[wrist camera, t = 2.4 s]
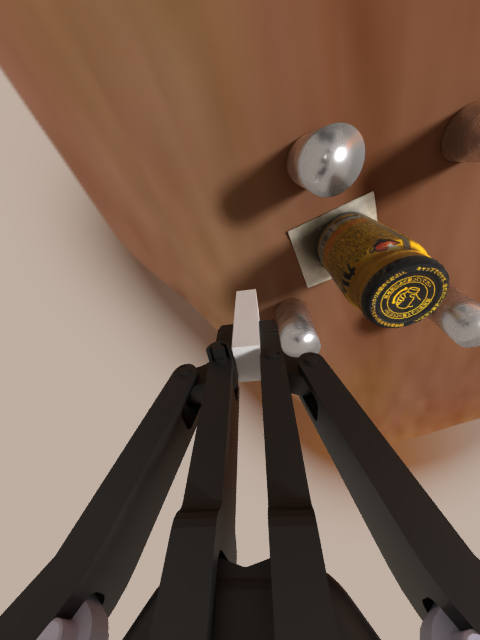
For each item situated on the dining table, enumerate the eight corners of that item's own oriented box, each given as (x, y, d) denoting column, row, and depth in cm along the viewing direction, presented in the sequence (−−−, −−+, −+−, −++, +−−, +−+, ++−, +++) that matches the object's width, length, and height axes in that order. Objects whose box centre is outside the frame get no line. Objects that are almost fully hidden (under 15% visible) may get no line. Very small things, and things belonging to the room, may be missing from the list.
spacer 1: (274, 300, 29) (280, 335, 23) (307, 296, 29) (321, 331, 23) (276, 325, 31) (282, 363, 26) (306, 322, 31) (319, 360, 25)
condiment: (382, 257, 26) (464, 320, 16) (307, 287, 28) (339, 357, 18) (372, 190, 22) (471, 218, 12) (287, 230, 24) (313, 281, 15)
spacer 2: (285, 137, 20) (301, 129, 14) (334, 128, 20) (369, 116, 14) (287, 189, 22) (301, 201, 16) (330, 182, 22) (360, 192, 16)
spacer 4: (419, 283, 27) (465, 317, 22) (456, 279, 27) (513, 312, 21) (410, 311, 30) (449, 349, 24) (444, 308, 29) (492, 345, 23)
